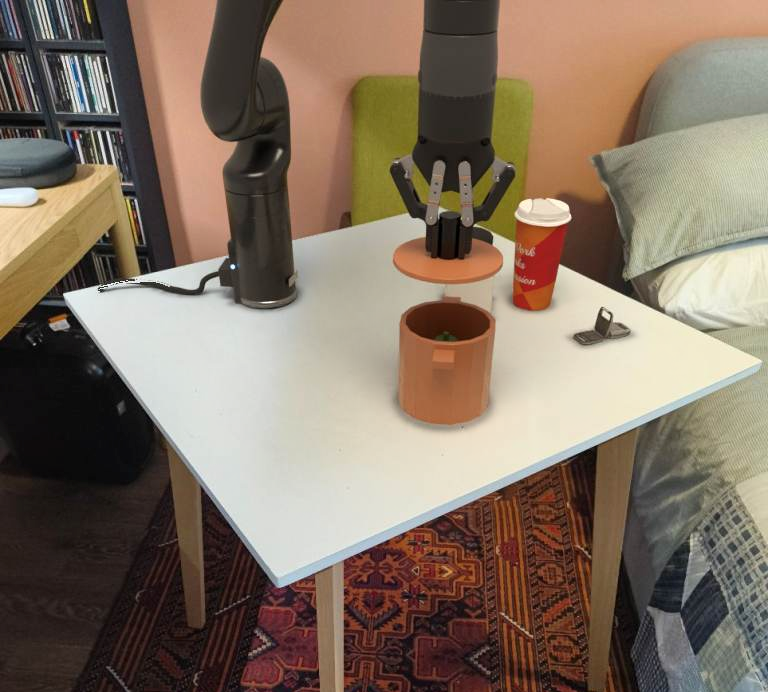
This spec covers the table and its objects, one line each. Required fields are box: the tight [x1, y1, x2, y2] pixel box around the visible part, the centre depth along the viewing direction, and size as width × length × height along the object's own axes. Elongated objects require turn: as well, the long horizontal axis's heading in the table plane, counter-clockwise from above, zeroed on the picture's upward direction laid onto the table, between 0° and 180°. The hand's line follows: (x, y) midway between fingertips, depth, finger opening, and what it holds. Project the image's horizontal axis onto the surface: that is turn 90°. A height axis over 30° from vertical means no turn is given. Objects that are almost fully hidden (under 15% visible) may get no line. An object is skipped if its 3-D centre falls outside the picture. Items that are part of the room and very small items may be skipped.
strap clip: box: [573, 306, 631, 345], centre depth 112 cm, size 8×3×4 cm, turn 113°
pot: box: [397, 295, 497, 426], centre depth 96 cm, size 11×17×12 cm
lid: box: [392, 210, 504, 285], centre depth 85 cm, size 12×12×6 cm
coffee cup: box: [512, 197, 572, 312], centre depth 117 cm, size 8×8×15 cm
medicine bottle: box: [444, 226, 496, 315], centre depth 116 cm, size 7×7×12 cm
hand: (447, 255), depth 86 cm, fingers closed on lid, 2 cm apart
